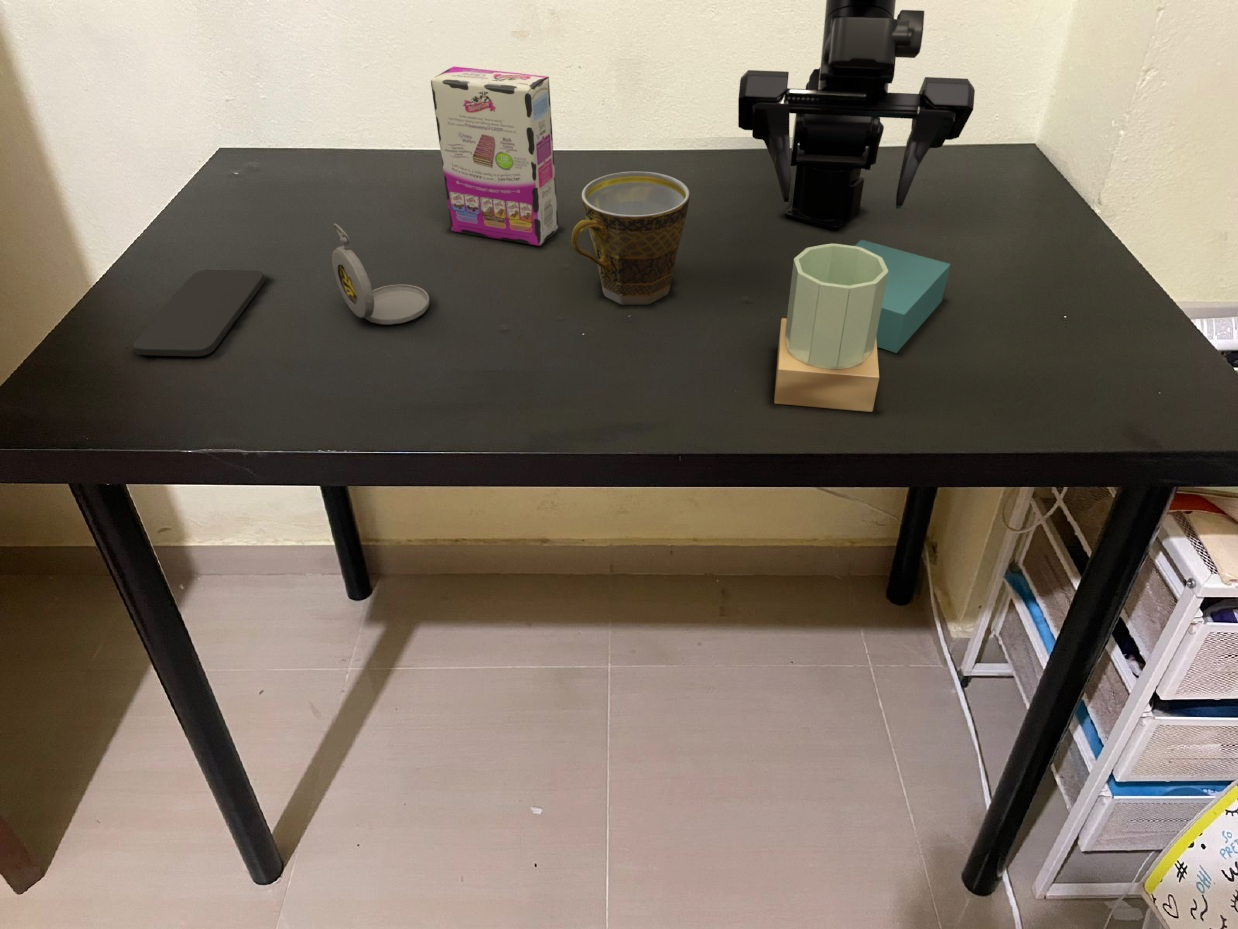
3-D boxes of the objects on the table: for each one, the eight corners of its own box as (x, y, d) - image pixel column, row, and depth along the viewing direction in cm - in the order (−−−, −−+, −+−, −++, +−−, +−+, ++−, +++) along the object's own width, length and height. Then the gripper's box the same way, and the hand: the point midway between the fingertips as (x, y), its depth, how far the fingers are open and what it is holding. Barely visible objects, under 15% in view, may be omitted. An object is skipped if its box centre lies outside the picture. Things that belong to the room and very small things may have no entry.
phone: (267, 270, 95) (208, 350, 84) (269, 277, 96) (210, 358, 84) (196, 269, 96) (127, 348, 84) (198, 276, 96) (130, 356, 85)
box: (805, 323, 88) (810, 285, 85) (855, 275, 95) (861, 239, 92) (896, 353, 84) (904, 314, 81) (942, 301, 91) (950, 263, 88)
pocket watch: (442, 298, 92) (427, 202, 86) (399, 343, 86) (380, 242, 80) (369, 286, 94) (349, 191, 88) (322, 328, 88) (297, 229, 82)
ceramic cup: (635, 255, 99) (635, 162, 92) (707, 288, 93) (712, 191, 87) (541, 300, 92) (534, 203, 85) (613, 339, 86) (611, 238, 80)
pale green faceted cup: (769, 352, 78) (778, 271, 73) (810, 314, 82) (820, 235, 77) (848, 380, 75) (862, 296, 70) (885, 339, 79) (901, 258, 74)
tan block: (773, 404, 78) (778, 368, 76) (777, 351, 84) (781, 317, 82) (872, 412, 77) (879, 377, 75) (869, 358, 83) (875, 324, 81)
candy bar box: (560, 228, 104) (552, 74, 93) (540, 248, 100) (529, 90, 90) (471, 213, 107) (453, 62, 96) (448, 231, 103) (427, 77, 93)
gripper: (748, -38, 73) (728, 157, 71) (1000, -32, 70) (984, 170, 69) (747, 40, 84) (730, 210, 82) (964, 48, 81) (950, 223, 80)
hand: (842, 203), depth 78 cm, fingers open, 9 cm apart
